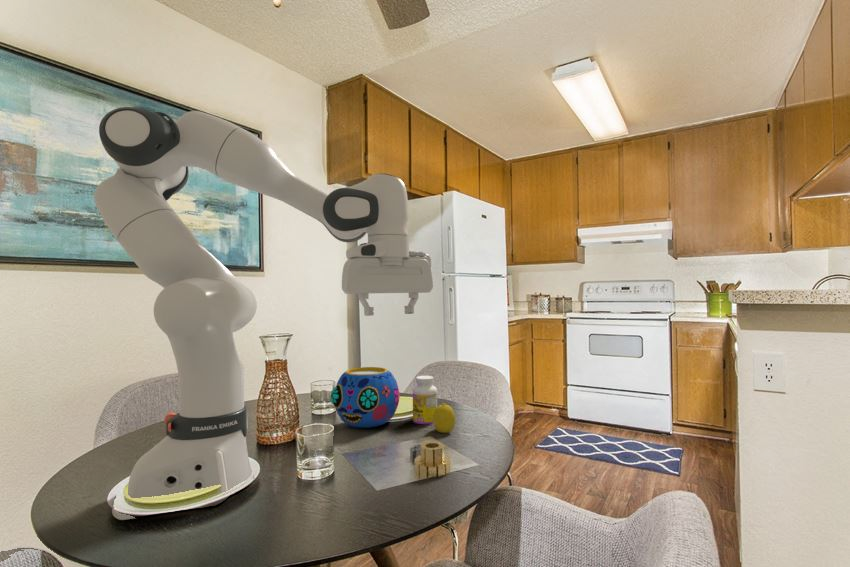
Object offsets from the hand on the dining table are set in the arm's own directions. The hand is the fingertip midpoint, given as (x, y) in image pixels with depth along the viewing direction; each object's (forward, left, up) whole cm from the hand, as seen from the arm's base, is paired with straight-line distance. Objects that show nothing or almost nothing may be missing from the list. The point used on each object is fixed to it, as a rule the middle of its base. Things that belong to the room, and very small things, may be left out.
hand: (389, 314), depth 93 cm
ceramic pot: (+4, +25, -31) cm, 40 cm away
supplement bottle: (+18, +18, -31) cm, 40 cm away
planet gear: (+4, -11, -30) cm, 32 cm away
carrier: (+2, -4, -31) cm, 31 cm away
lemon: (+18, +8, -31) cm, 37 cm away
